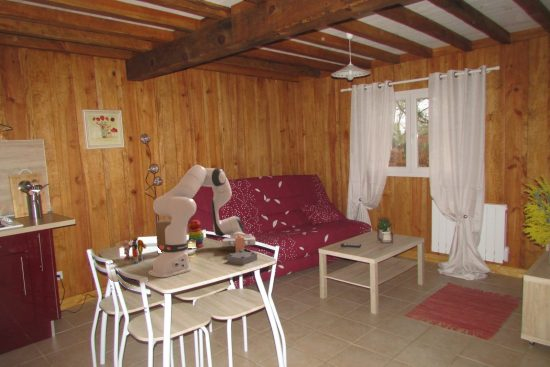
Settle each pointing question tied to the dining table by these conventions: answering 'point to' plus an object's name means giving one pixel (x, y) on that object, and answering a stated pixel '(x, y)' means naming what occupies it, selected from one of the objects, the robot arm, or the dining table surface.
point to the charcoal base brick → (242, 257)
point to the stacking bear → (196, 233)
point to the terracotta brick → (239, 243)
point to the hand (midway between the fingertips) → (239, 244)
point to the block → (161, 231)
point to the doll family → (134, 249)
